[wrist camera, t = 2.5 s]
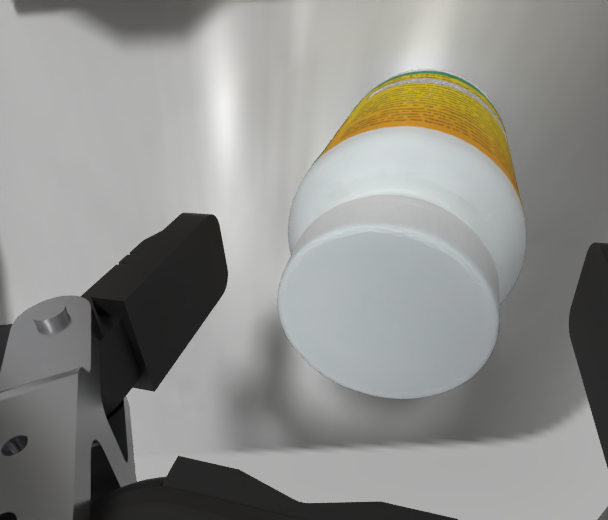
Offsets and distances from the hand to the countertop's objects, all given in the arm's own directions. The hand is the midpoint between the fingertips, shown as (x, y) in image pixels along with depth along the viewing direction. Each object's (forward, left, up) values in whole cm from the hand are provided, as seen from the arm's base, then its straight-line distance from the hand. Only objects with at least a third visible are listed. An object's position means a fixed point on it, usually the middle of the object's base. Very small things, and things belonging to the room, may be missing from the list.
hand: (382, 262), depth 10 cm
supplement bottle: (0, 0, -7) cm, 7 cm away
